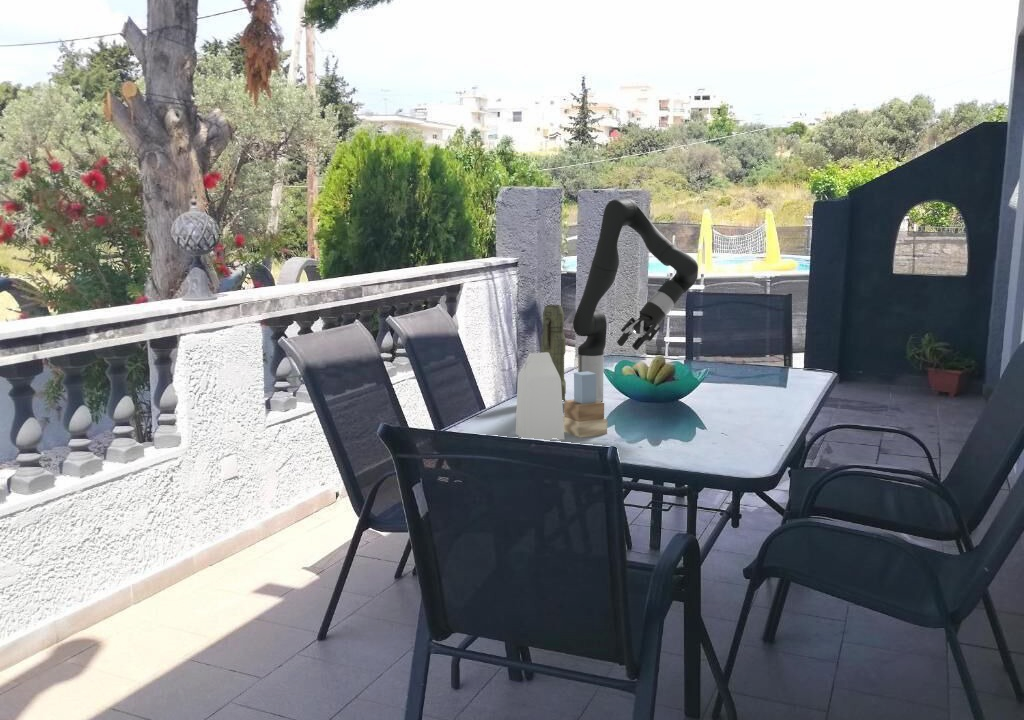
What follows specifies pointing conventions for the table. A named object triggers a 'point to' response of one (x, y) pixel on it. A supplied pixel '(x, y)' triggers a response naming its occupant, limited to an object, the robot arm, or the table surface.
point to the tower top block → (583, 410)
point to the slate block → (585, 387)
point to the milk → (539, 399)
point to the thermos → (554, 339)
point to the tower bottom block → (585, 427)
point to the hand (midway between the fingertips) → (626, 346)
